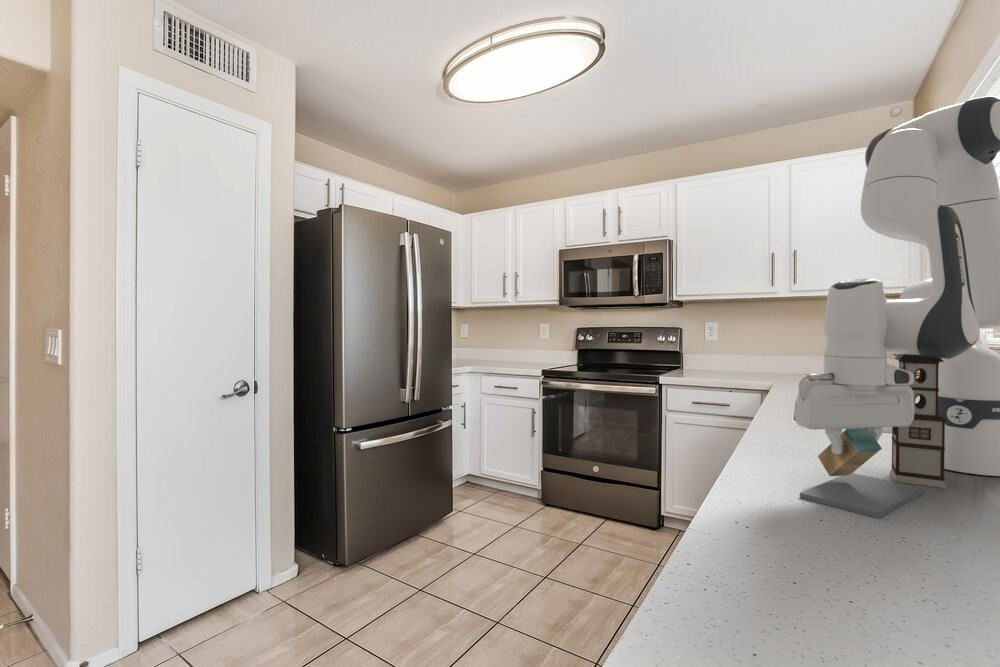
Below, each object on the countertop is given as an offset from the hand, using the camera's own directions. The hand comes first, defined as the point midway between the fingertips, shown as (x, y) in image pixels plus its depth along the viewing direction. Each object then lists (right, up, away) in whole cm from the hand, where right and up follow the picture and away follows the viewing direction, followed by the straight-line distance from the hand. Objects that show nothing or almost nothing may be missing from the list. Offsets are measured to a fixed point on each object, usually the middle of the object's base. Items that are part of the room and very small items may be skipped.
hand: (853, 453), depth 86 cm
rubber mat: (0, -7, -2) cm, 7 cm away
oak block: (-1, -3, +4) cm, 5 cm away
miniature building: (+16, -7, +7) cm, 19 cm away
